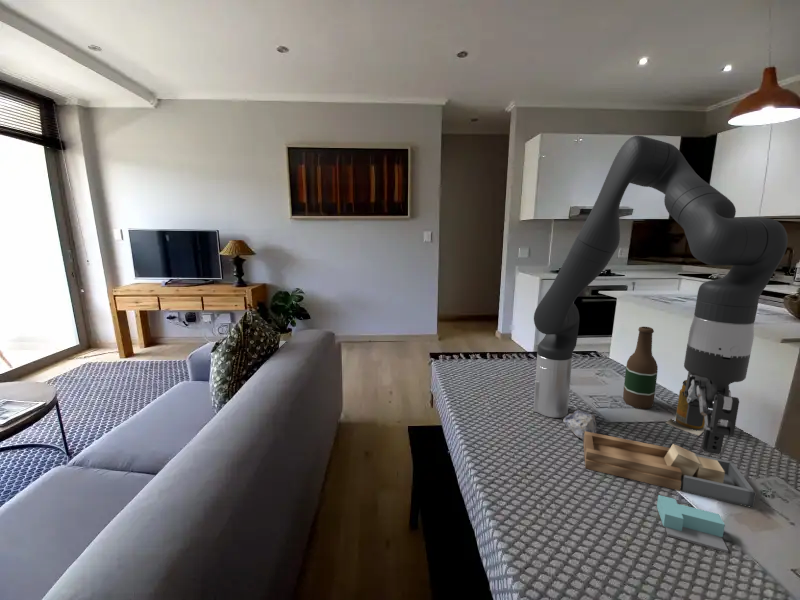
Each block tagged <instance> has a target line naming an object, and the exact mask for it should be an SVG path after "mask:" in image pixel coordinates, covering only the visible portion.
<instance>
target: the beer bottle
mask: <svg viewBox="0 0 800 600" xmlns="http://www.w3.org/2000/svg"><path fill="white" fill-rule="evenodd" d="M637 330H638V337H637V341H636V342H637V343H636V347H635V350H634V352H633V353H631V355H630V356H629V358H628V360H627V362H626V366H625V375H624V384H623V393H622V396H623V397H622V400H623V401H624V403H625V404H626V405H628V406H631V407H632V408H635V409H640V410H641V409H643V410H647V409H648V410H649V409H650V408H652V407H653V406H654V402H655V394H656V386H657V378H658V364H657V361H656V359H655V358H654V355H653V350H652V349H653V333H655V331H654V328H652V327H649V326H640V327H639V328H638V329H637Z"/></svg>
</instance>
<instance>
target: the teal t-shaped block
mask: <svg viewBox="0 0 800 600" xmlns="http://www.w3.org/2000/svg"><path fill="white" fill-rule="evenodd" d="M656 501H657V502H656V509H657V510H658V511H657V512H658V514H659V517H660V521H661V523H662V526H663V527H664V528H665V527H668V528H671V529H675V530H679V531H682V527H686V528H689V529H693V530H697V531H700V532H704V533H708V534H712V535H715V536H719V537H722V538H723V537H724V532H725V527H726V524H725V522H724V521H723V519H722V516H721V515H720V513H716V512H712V511H708V510H704V509H701V508H700V509H699V508H696V507H691V506H687V505H683V504H679V503H678V502H677V500H676V498H673V497H670V496H664V495H659V494H658V496H657V500H656Z"/></svg>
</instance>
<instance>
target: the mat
mask: <svg viewBox="0 0 800 600" xmlns="http://www.w3.org/2000/svg"><path fill="white" fill-rule="evenodd" d="M664 528H665V532H666V533H667V536H668V537H671V538H675V539H678V540H681V541H684V542H688V543H692V544H696V545H698V546H703V547H707V548H709V549H714V550H717V551H721V552H724V553H727V554H728V553H729V549H728V547H727V544H726V543H725V542H724V539H723V537H719V536H715V535H712V534H708V533H704V532H700V531H697V530H693V529H689V528H686V527H682V531H679V530H675V529H671V528H668V527H664Z"/></svg>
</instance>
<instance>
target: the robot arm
mask: <svg viewBox="0 0 800 600" xmlns="http://www.w3.org/2000/svg"><path fill="white" fill-rule="evenodd" d="M629 184H632V185H636V186H640V187H644V188H645V187H646V188H652V189H654V190H657V191H659V192H660V193H662V194H664V198H663V199H664V201H663V202H664V206H665V209H666V212H667V213H668V214H669V216H670V217H671V218H672V219H674V221H675V222H676V223H677V224H678V225H679V226H680V227H681V228H682V229H683V231H684V235H685V237H686V240H687V243H688V247H689V250H690V253H691V255H692V256H693V257H694V258H695V259H696V260H698V261H699V262H702V263H704V264H707V265H710V266H731V268H730V269H729V271H728V272H727V274H726V275H725V276H723V277H721V278H716V279H713V280H707V281H704V282H703V283H701V284H700V286H699V288H698V290H697V295H696V296H697V297H696V301H695V308H694V315H693V318H692V322H691V324H690V328H689V332H688V338H687V344H686V351H685V357H684V361H683V362H684V363H683V364H684V365H683V367H684V370H686V371H687V372H688V373H687V379H686V380H687V382H686V387H685V391H684V393H685V396H688V397H687V403H690V404H688V409H687V415H686V422H687V424H688V425H693V426H698V427H700V426H702V424H703V418H704V419H705V429H704V432H703V434H702V435H703V436H702V440H701V449H702V450H703V451H704V453H709V454H714V455H720V454H721V452H722V447H723V442H724V437H725V436H727V437H734V435H735V430H736V423H737V418H738V416H737V415H738V413H739V404H740V400H739V398H738V397H736V396H732V393H731V390H730V385H731V384H733V383H740V382H743V381H744V380H745V379H746V378H747V373H748V368H749V363H750V359H751V354H752V349H753V344H754V338H755V333H754V332H755V322H756V315H757V312H758V306H759V299H760V296H762V293H763V292H764V290H765V288H766V287H767V285H768V284H769V282H770V280H771V279H772V277H773V275H774V273H775V271H776V270H777V268H778V266H779V265H780V264H781V262H782V259H783V258H784V256H785V254H786V251H787V248H788V241H789V240H788V233H787V230H786V228H785V227H784V225H783V224H782V223H781V222H780V221H778V220H777V219H773V218H768V217H767V218H766V217H746V218H743V217H742V218H741V217H739V218H738V217H737V218H736V214H737V213H736V212H737V211H736V207H735V204H734V203H733V202H732V201H731V199H729V198H728V197H727V196H726V195H724V194H723V193H721V192H720V191H719V190H718V189H716V188H715V187H713V185H711V184H710V183H709V182H707V181H705V180H704V179H703V178H701V177H700V175H698V174H697V173H696V171H695V170H694V168H693V167H692V166H691V165H690V164H689V162H688V161H687V160H686V157H685V155H683V153H682V152H681V151H680V150H679V148H677V147H676V146H675V145H674V144H672V143H669V142H667V141H662V140H659V139H654V138H652V137H648V136H644V135H633V136H632V137H630V138H629V139H627V140H626V141H625V142H624V144H623V145H621V147H620V149H619V150H618V151H617V153H616V156H615V157H614V159H613V161H612V163H611V165H610V167H609V170H608V172H607V175H606V177H605V180H604V182H603V184H602V187H601V188H600V189H601V190H600V191H599V194H598V196H597V197H596V200H595V203H594V205H593V206H592V209H591V210H590V212H589V215H588V216H587V218H586V220H585V222H584V224H583V226H582V227H581V229H580V231H579V232H578V234H577V236H576V238H575V240H574V242H573V244H572V246H571V247H570V250H569V252H568V254H567V255H566V258H565V260H564V261H563V263H562V265H561V267H560V269H559V271H558V273H557V275H556V277H555V279H554V280H553V282H552V284H551V285H550V287H549V289H548V290H547V291H546V293H545V294H544V295H543V298H541V300H540V302H539V303H538V305H537V307H536V308H535V310H534V315H533V324H534V326H535V328H536V329H537V331H538V332H540V333H542V334H543V335H544V337H543V338H542V339H541V341H539V343H538V345H537V352H536V370H535V380H534V394H533V409H532V410H533V412H535V413H538V414H540V415H542V416H544V417H549V418H554V419H557V418H559V419H560V418H565V417H566V416H568V415H569V414H568V413H569V404H570V403H569V402H570V390H571V377H572V376H571V375H572V364H573V353H574V350H575V349H576V346H577V342H578V336H579V335H578V334H579V329H580V328H579V327H580V312H579V309H578V307H577V306H576V304H575V301H576V299H577V298H578V297H579V296H580V295H581V293H582V292H583V291H584V290H585V289H586V288H587V287H588V286H589V285H590V284H592V283H593V281H595V280H596V278H598V277H599V275H600V274H601V273H602V272H603V271H604V269H605V268H606V267H607V266H608V264H609V263H610V261H611V260H612V257H613V255H614V254H615V252H616V251H617V249H618V247H619V245H620V241H621V229H620V205H621V201H622V199H623V196H624V194H625V192H626V191H627V188H628V186H629ZM719 421H720V424H719Z"/></svg>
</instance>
